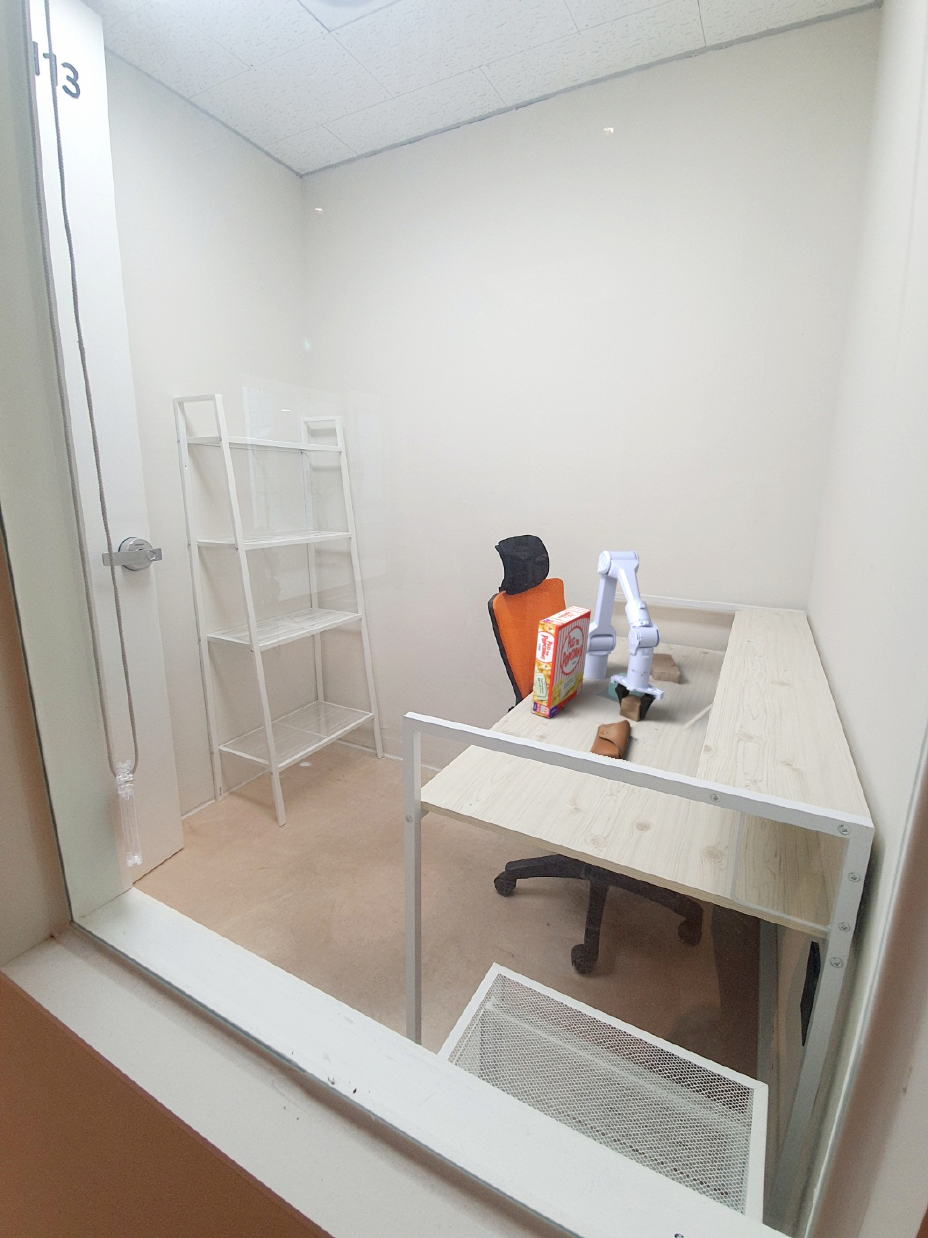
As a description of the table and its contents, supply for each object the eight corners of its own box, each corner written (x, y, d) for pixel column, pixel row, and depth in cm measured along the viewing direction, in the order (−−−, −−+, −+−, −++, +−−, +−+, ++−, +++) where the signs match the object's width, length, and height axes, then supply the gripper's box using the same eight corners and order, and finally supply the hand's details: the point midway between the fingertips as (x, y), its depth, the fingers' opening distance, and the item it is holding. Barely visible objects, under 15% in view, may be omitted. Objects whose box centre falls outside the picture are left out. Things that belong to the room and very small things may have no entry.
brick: (680, 686, 169) (682, 672, 167) (652, 683, 170) (654, 670, 169) (669, 666, 185) (671, 653, 183) (644, 664, 186) (646, 651, 184)
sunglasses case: (597, 723, 144) (612, 707, 141) (618, 740, 143) (634, 724, 140) (586, 758, 128) (603, 740, 125) (610, 777, 127) (628, 759, 124)
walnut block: (619, 718, 147) (621, 699, 145) (628, 712, 151) (630, 693, 149) (635, 725, 144) (638, 705, 142) (644, 719, 147) (647, 699, 145)
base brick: (607, 694, 159) (609, 679, 157) (619, 687, 164) (621, 672, 162) (629, 702, 154) (631, 686, 153) (640, 695, 159) (643, 679, 158)
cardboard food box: (549, 719, 145) (558, 626, 137) (529, 712, 149) (536, 621, 140) (582, 694, 161) (591, 608, 152) (563, 688, 165) (571, 604, 156)
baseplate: (595, 697, 159) (596, 694, 159) (616, 685, 167) (616, 682, 167) (632, 711, 151) (632, 708, 151) (652, 698, 159) (652, 695, 159)
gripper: (607, 664, 145) (601, 709, 149) (658, 681, 135) (650, 729, 139) (620, 658, 149) (614, 701, 154) (670, 674, 140) (662, 720, 144)
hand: (632, 714), depth 147 cm, fingers open, 5 cm apart
